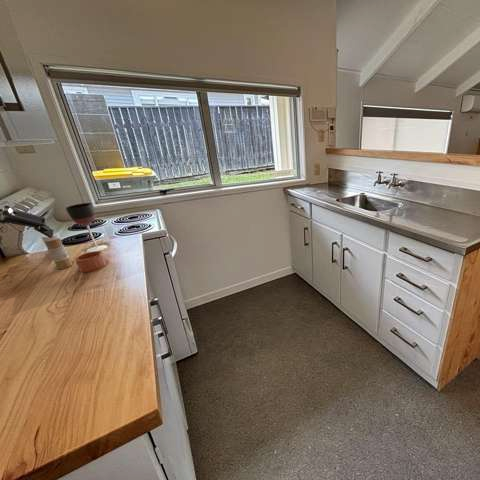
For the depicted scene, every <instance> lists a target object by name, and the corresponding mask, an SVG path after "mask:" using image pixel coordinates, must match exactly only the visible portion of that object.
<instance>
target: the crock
mask: <svg viewBox="0 0 480 480" xmlns="http://www.w3.org/2000/svg"><path fill="white" fill-rule="evenodd" d="M74 261H75V263H76V266H77V268H78V270H79V272H80V273H90V272H95V271H98V270H101V269H102V268H104V267H105V266H106V265H107V262H106V260H105V257H104V255H103V252H102V251H101V250H100V251H94V252H85V253H82V254H79V255H78V256H76V257H75V258H74Z"/></svg>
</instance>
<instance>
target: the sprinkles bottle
mask: <svg viewBox="0 0 480 480" xmlns="http://www.w3.org/2000/svg"><path fill="white" fill-rule="evenodd" d="M40 238H41V240H42V242H43V243H44V244H45V246H46V248H47V251H48V252H49V255H50V257H51V259H52V261H53V262H54V264H55V266H56V269H58V270H63V269H66V268H69V267H72V265H73V262H72V261H71V258H70V256H69V253H68V251H67V250H66V247H65V245H64V244H63V242H62V240H61V237H60V234H59V233H58V232H53V237H52V238H49V237H48V236H46V235H44V234H43V235H42V236H41V237H40Z"/></svg>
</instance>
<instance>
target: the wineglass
mask: <svg viewBox="0 0 480 480" xmlns="http://www.w3.org/2000/svg"><path fill="white" fill-rule="evenodd" d="M65 210H66V212H67V214H68V215H69V218H71V220H72V221H73V222H74V223H75V224H76V225H80V226H86V228H87V231H88V233H89V235H90V238H91V240H92V243H93V245H94V247H93V246H92V247H90V248H88V249H87V250H86V253H89V252H94V251H100V252H101V251H103V250H105V249H107V248H108V245H106V244H103V245H98V244H97V242H96V239H95V237H94V235H93V233H92V231H91V228H90V224H92V223H93V222H94V221H95V219H96V213H95V209H94V206H93V203H91V202H84V203H78V204H71V205H69V206H66V207H65Z"/></svg>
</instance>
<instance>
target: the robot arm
mask: <svg viewBox="0 0 480 480" xmlns="http://www.w3.org/2000/svg"><path fill="white" fill-rule="evenodd" d="M1 215H2V216H3V217H2V216H1ZM1 217H2V219H0V224H3V225H5V224H6V225H7V224H9V223H11V224H10V225H17V226H23V227H29V228H33V230H35V231H36V232H38V233H40V234H42V235H43V236H44V235H46V236H48V237H49V238H52V237H53V233H54V229H52V228H50V226H49V225H48V224H47V220H48V219H47V218H46V217H43V216H41V215H36V214H33V213H31V212H30V213H29V212H27V211H23V210H20V209H16V208H14V207H12V206H10V205H4V206H3V208H0V218H1ZM2 240H3V236H2V235H0V245H1V244H2Z"/></svg>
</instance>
